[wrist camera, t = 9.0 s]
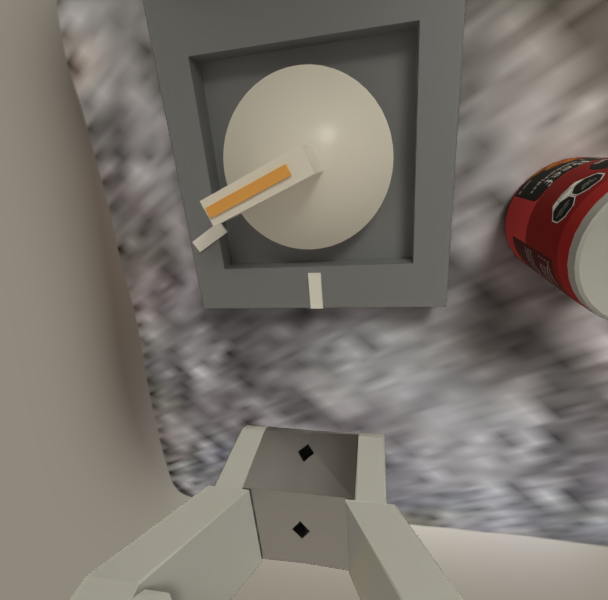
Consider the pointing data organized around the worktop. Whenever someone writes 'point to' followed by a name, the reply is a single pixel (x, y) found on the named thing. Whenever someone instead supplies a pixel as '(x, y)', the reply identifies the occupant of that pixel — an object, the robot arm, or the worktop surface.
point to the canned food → (565, 228)
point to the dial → (305, 158)
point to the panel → (388, 94)
